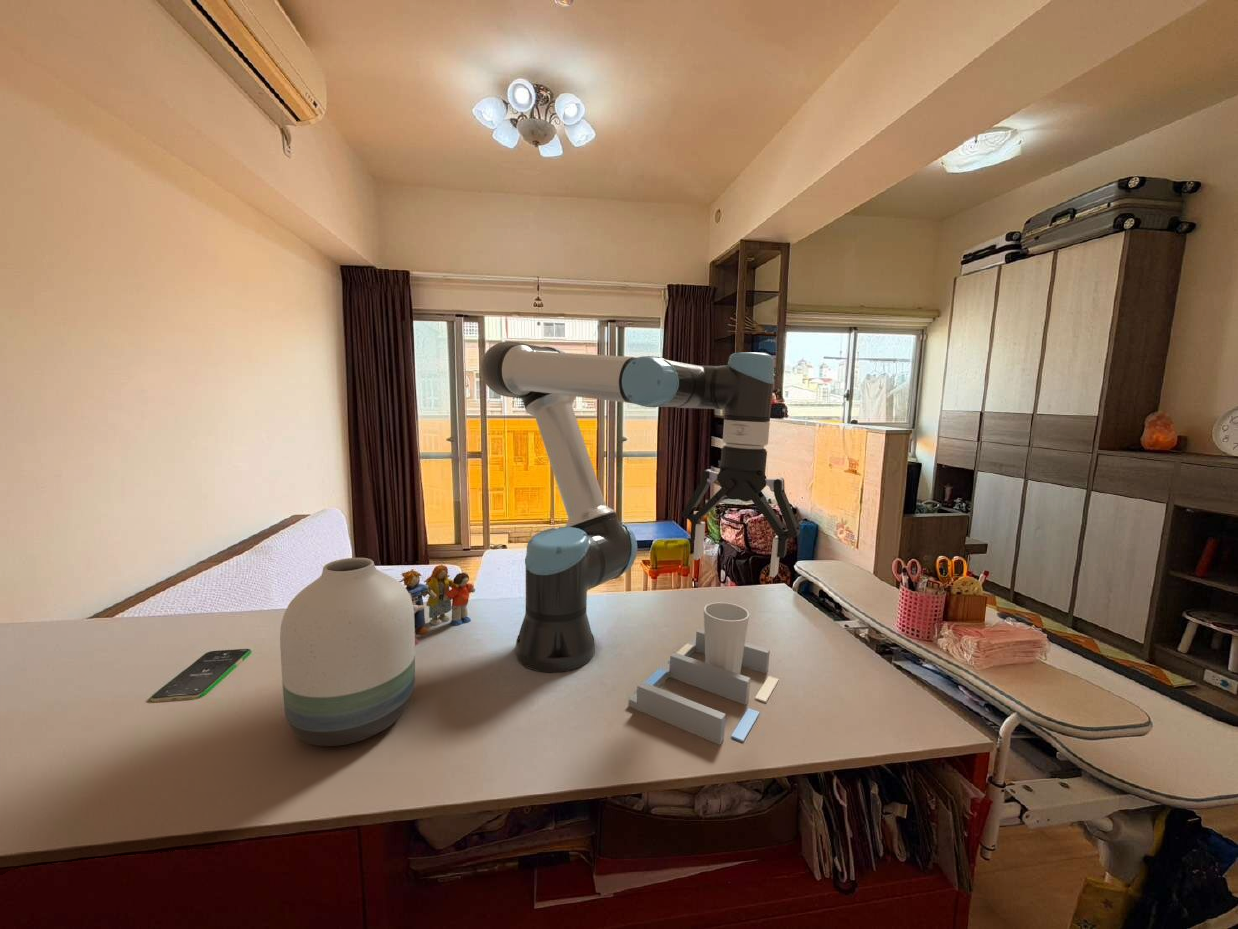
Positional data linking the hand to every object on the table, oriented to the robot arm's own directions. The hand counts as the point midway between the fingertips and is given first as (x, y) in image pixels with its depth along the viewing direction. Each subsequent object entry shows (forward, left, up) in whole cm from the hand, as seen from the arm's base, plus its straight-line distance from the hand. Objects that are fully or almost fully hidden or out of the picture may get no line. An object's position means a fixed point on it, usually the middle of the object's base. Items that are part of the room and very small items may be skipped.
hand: (734, 566), depth 85 cm
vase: (-41, -45, -21) cm, 65 cm away
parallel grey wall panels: (-1, -6, -21) cm, 21 cm away
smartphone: (-73, -53, -21) cm, 93 cm away
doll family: (-58, -21, -21) cm, 65 cm away
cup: (-1, 0, -21) cm, 21 cm away
